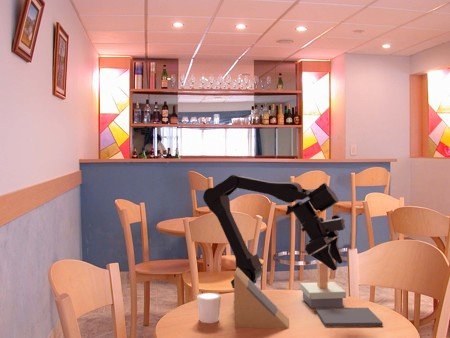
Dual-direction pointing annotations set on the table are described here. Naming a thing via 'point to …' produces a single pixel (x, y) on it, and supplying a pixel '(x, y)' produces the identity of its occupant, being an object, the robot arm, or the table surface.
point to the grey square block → (323, 302)
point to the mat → (347, 317)
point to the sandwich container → (254, 306)
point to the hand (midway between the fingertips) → (338, 266)
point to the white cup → (208, 307)
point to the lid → (322, 286)
